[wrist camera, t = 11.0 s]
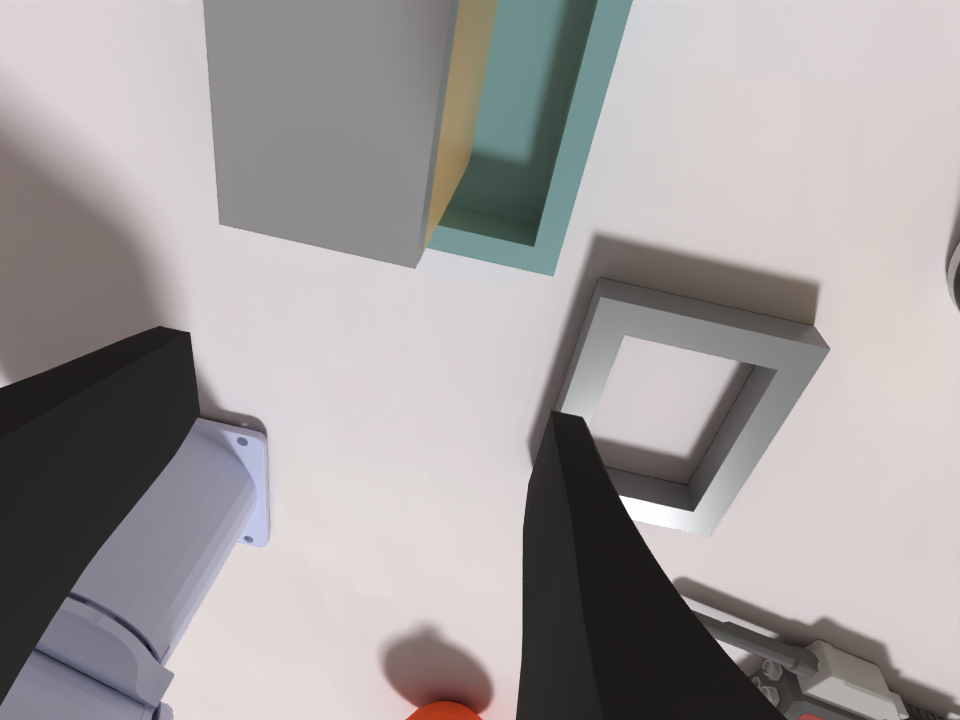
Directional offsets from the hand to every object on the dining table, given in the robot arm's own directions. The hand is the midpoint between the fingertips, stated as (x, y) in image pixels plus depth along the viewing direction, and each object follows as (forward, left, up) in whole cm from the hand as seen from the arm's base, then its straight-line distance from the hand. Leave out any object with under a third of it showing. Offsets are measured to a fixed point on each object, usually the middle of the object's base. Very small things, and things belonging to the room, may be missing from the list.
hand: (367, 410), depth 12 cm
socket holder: (+9, -6, -10) cm, 15 cm away
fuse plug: (-2, +5, -10) cm, 11 cm away
